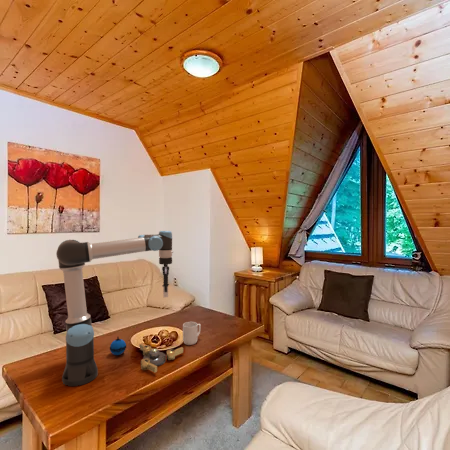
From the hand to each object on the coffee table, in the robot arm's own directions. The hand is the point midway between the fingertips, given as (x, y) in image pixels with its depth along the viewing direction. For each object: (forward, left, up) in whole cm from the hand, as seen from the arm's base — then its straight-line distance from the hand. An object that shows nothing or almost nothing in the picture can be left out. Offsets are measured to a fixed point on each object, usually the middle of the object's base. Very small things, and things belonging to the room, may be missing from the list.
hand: (165, 296), depth 167 cm
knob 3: (+5, -15, -28) cm, 33 cm away
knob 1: (-12, -7, -28) cm, 32 cm away
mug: (+16, +3, -30) cm, 34 cm away
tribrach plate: (-6, -17, -29) cm, 34 cm away
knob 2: (-8, -27, -28) cm, 40 cm away
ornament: (-26, -5, -30) cm, 40 cm away
